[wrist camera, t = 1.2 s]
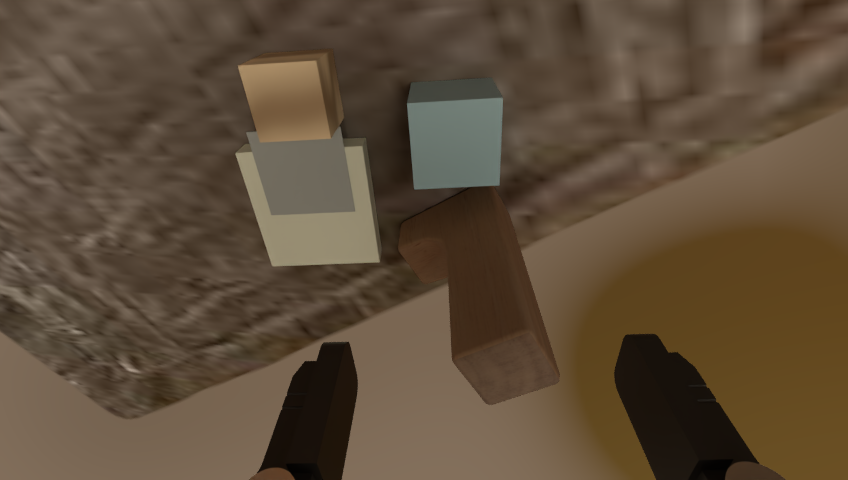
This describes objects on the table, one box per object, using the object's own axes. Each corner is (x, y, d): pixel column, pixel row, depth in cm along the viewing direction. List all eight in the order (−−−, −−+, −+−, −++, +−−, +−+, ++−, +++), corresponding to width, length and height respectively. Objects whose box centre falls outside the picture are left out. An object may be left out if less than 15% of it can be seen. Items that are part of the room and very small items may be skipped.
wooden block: (424, 257, 39) (418, 432, 24) (399, 221, 37) (376, 389, 22) (510, 216, 37) (564, 384, 22) (489, 176, 35) (531, 331, 20)
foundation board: (239, 124, 33) (228, 133, 31) (362, 117, 32) (358, 126, 30) (279, 253, 40) (272, 266, 38) (381, 249, 39) (379, 262, 37)
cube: (411, 82, 31) (407, 103, 26) (491, 77, 31) (503, 97, 26) (417, 157, 34) (414, 189, 29) (489, 154, 34) (499, 185, 29)
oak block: (265, 52, 30) (237, 65, 26) (332, 48, 30) (315, 60, 25) (282, 121, 33) (259, 142, 28) (344, 117, 32) (331, 138, 28)
